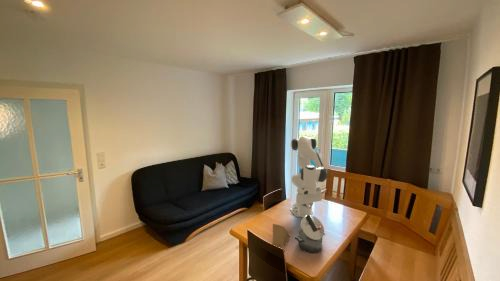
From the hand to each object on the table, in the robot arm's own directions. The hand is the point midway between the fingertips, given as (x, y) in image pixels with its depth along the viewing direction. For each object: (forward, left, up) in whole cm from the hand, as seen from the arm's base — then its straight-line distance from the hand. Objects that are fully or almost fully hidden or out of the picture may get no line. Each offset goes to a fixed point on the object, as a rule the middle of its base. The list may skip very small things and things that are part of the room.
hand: (309, 208), depth 145 cm
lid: (+3, 0, -12) cm, 13 cm away
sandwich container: (-13, -13, -27) cm, 33 cm away
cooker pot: (+2, 0, -27) cm, 27 cm away
